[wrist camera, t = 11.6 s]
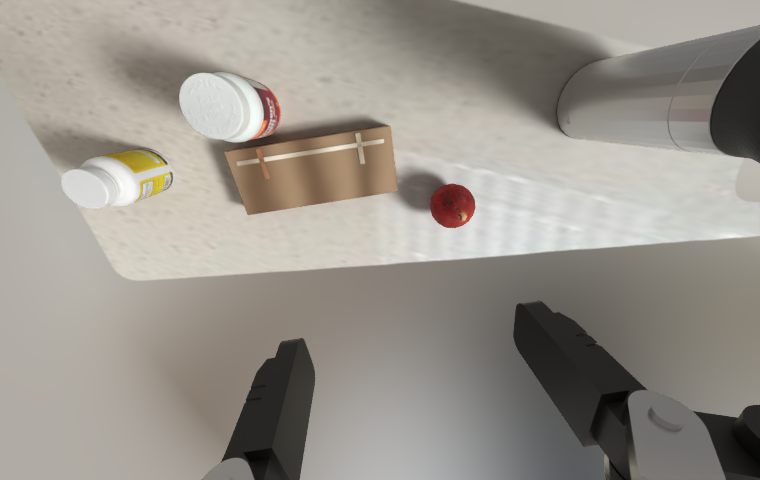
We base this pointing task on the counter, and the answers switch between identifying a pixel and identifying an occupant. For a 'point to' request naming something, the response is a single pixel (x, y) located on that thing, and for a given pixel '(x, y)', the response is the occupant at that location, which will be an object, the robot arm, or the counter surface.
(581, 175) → the counter surface
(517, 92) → the counter surface
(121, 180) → the supplement bottle
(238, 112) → the pill bottle
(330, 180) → the brown banded box
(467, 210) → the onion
